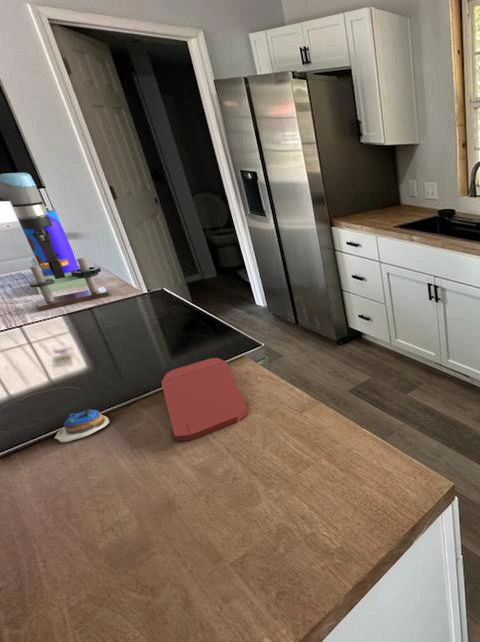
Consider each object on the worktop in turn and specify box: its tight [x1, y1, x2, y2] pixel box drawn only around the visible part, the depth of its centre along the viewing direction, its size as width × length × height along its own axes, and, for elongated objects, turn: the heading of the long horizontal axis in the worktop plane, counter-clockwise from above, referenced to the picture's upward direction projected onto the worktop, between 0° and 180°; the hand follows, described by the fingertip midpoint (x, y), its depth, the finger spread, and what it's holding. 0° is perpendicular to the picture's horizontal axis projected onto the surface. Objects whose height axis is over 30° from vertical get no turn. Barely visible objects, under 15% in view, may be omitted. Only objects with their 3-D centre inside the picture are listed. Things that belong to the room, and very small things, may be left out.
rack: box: [28, 257, 110, 312], centre depth 141 cm, size 17×8×14 cm, turn 139°
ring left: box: [39, 259, 69, 269], centre depth 156 cm, size 7×7×1 cm
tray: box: [34, 272, 88, 295], centre depth 159 cm, size 15×13×3 cm
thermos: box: [16, 210, 76, 276], centre depth 170 cm, size 11×11×25 cm
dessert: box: [54, 408, 110, 443], centre depth 81 cm, size 8×7×6 cm
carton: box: [160, 357, 250, 442], centre depth 90 cm, size 12×5×25 cm
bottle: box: [32, 215, 80, 276], centre depth 164 cm, size 8×8×30 cm
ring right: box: [71, 265, 102, 277], centre depth 144 cm, size 7×7×1 cm
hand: (59, 275), depth 158 cm, fingers closed on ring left, 7 cm apart
